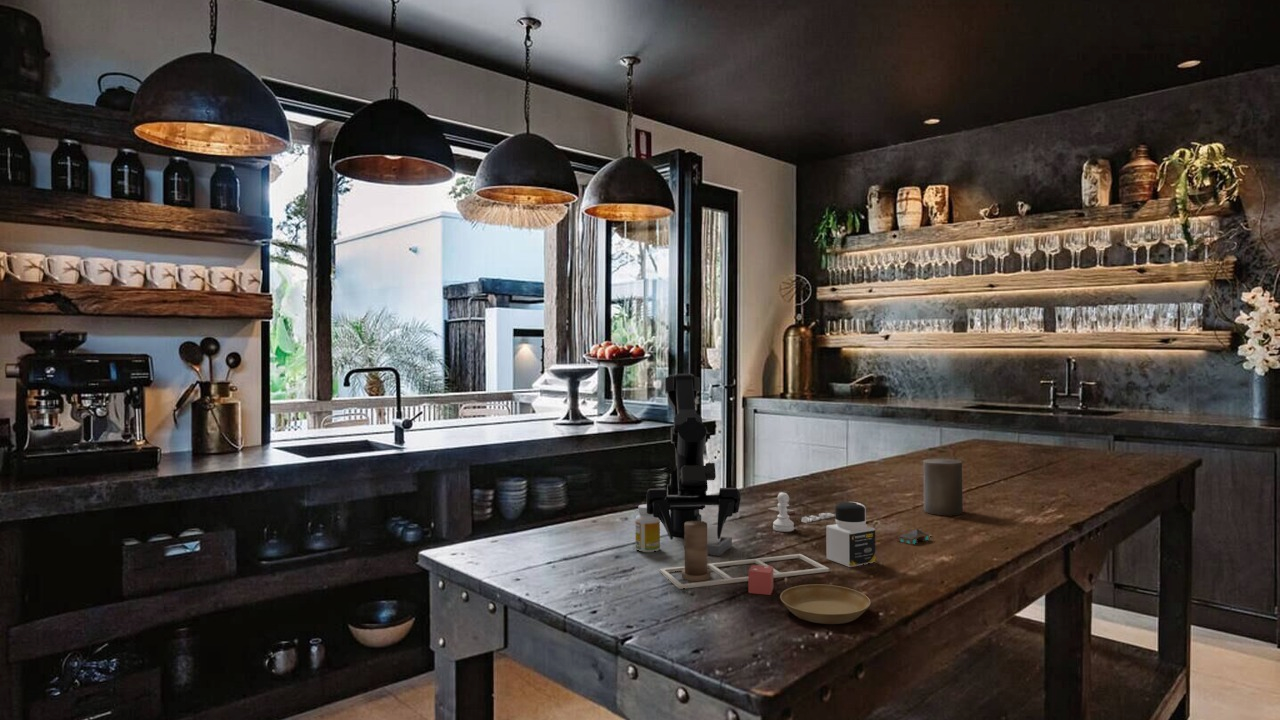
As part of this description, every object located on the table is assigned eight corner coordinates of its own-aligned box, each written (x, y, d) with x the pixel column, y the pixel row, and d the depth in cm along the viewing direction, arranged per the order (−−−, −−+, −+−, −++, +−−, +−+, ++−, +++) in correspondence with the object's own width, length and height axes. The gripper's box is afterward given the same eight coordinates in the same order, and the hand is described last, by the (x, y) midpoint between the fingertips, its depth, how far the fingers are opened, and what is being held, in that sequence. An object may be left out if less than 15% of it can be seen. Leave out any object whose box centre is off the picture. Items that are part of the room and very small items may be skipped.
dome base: (684, 551, 164) (684, 542, 164) (698, 542, 171) (698, 533, 171) (719, 555, 160) (719, 546, 160) (731, 546, 167) (731, 537, 167)
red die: (748, 592, 136) (748, 570, 136) (751, 586, 140) (751, 564, 140) (770, 594, 135) (770, 572, 135) (773, 587, 138) (773, 565, 138)
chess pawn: (793, 532, 179) (793, 495, 179) (772, 531, 180) (772, 494, 180) (793, 527, 184) (793, 491, 184) (773, 526, 185) (773, 490, 185)
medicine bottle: (849, 567, 151) (849, 508, 150) (825, 559, 157) (825, 502, 157) (876, 562, 154) (876, 504, 154) (851, 554, 160) (851, 498, 160)
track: (679, 589, 138) (679, 585, 138) (659, 572, 149) (659, 569, 149) (829, 571, 148) (829, 568, 148) (800, 556, 159) (800, 553, 159)
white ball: (693, 548, 164) (692, 525, 164) (702, 542, 169) (701, 520, 169) (715, 551, 162) (715, 527, 162) (723, 545, 166) (723, 522, 166)
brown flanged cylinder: (676, 575, 147) (675, 522, 146) (700, 571, 149) (700, 518, 149) (691, 583, 142) (690, 528, 141) (716, 579, 144) (715, 524, 144)
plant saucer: (815, 636, 116) (815, 619, 116) (763, 606, 130) (763, 591, 130) (890, 621, 122) (890, 605, 122) (832, 593, 136) (832, 579, 136)
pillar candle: (968, 516, 194) (968, 458, 194) (931, 516, 194) (930, 458, 194) (953, 508, 204) (953, 453, 204) (917, 508, 204) (917, 453, 204)
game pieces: (760, 513, 202) (760, 492, 201) (794, 507, 209) (794, 486, 209) (907, 549, 165) (907, 523, 165) (941, 540, 173) (941, 515, 173)
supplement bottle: (663, 547, 167) (663, 504, 166) (654, 554, 162) (653, 509, 162) (641, 545, 169) (641, 502, 169) (631, 551, 164) (631, 507, 164)
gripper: (646, 449, 151) (647, 516, 140) (739, 448, 151) (747, 515, 140) (646, 480, 159) (647, 546, 148) (734, 479, 159) (741, 545, 148)
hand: (695, 538), depth 146 cm, fingers open, 9 cm apart
